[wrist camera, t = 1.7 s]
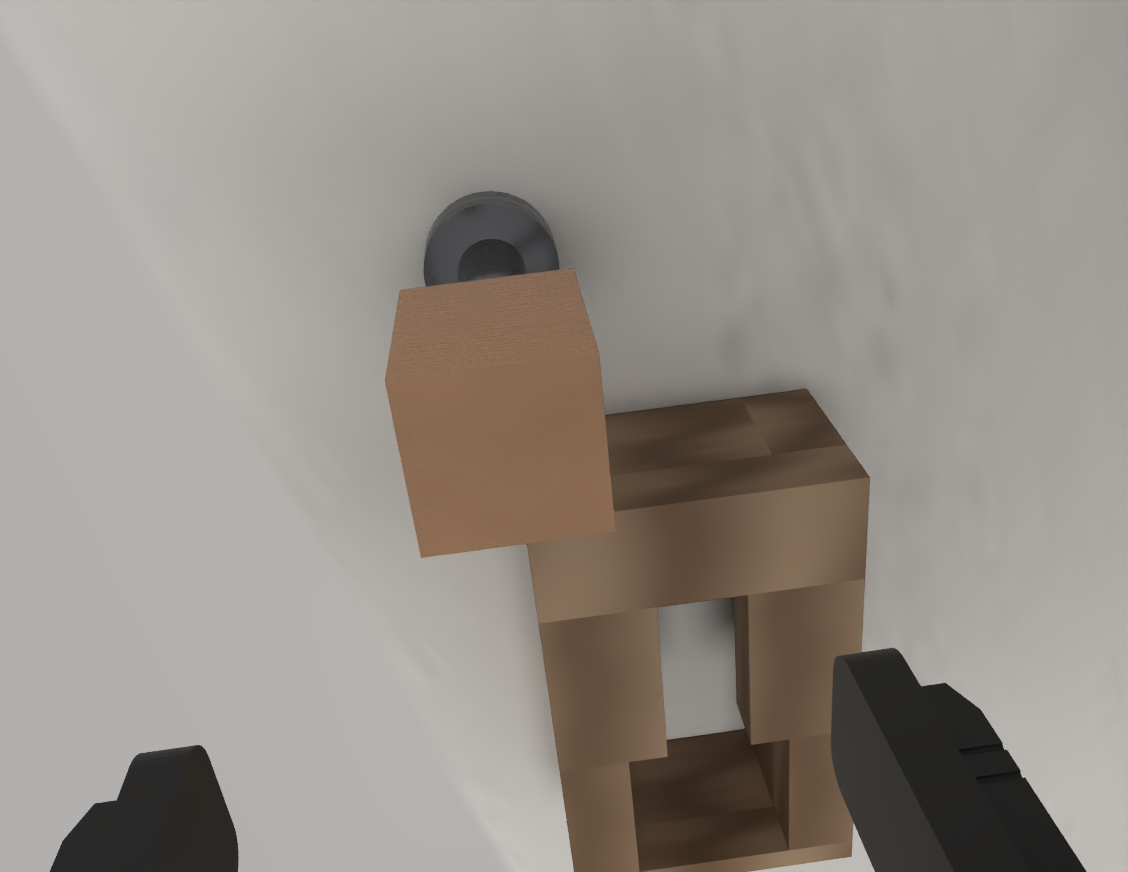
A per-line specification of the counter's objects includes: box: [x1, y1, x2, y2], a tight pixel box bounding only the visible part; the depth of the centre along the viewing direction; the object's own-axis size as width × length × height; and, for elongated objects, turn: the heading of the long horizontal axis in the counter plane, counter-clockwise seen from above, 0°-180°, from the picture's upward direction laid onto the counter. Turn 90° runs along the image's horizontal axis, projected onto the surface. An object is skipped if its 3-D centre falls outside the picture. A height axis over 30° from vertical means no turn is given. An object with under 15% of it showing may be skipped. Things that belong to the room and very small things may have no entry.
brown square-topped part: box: [385, 192, 616, 558], centre depth 25 cm, size 4×4×13 cm
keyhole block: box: [527, 389, 870, 872], centre depth 35 cm, size 10×16×6 cm, turn 6°
